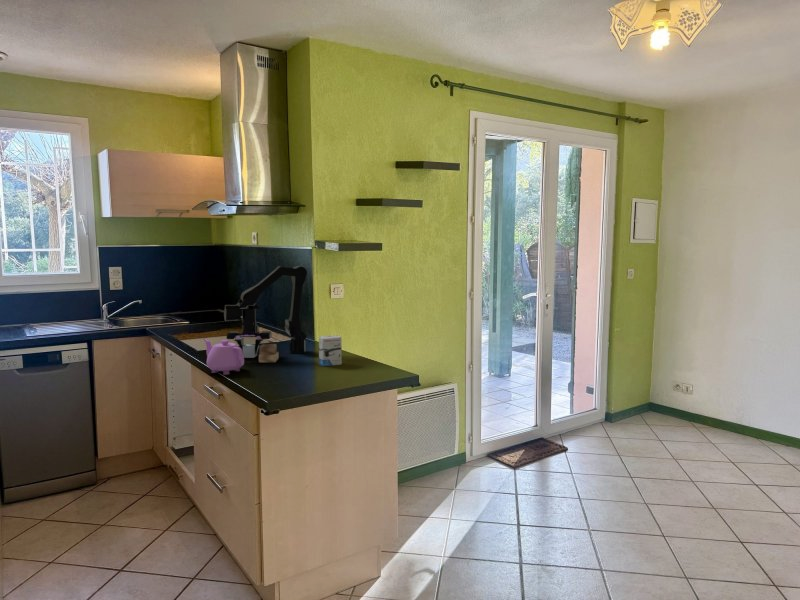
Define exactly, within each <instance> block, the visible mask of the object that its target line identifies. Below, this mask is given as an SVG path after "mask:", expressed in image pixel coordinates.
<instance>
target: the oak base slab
mask: <svg viewBox="0 0 800 600" xmlns="http://www.w3.org/2000/svg"><path fill="white" fill-rule="evenodd" d="M278 360H279V351H277V352H276V353H275V354H274V355H260V353H259V354H258V363H276V362H277V361H278Z"/></svg>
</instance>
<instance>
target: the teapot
mask: <svg viewBox="0 0 800 600" xmlns="http://www.w3.org/2000/svg"><path fill="white" fill-rule="evenodd" d="M229 340H230V339H222V340H221V341H220V342H221V343H215V344H214V345H213V346H212V343H211V341H210V340H208V339H206V338H203V342H205V344H206V356H207V357H206V367H208V368H209V370H211V372H210V373H212V374H216V373H217V374H218V373H219V372H222V375H224V376H226V375H227V376H228V375H230V373H231V372H230V371H233V372H241V368H242V367H243V366H244V365H245V358H244V357H243V352H242V349H241V348H240V346H239V345H237V343H234V342H229Z"/></svg>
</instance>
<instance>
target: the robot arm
mask: <svg viewBox="0 0 800 600" xmlns="http://www.w3.org/2000/svg"><path fill="white" fill-rule="evenodd" d="M307 270H308V269H306V268H305V267H304V266H300V265H295V266H293V267H286V266H281V265H279V266H276V267H275V269H274V270H272V271H271V272H270V273H269V274H268V275H266V276H265V277H264V278H263V279H262V280H260V281H259V282H258V283H257V284H255V285H253V286H251V287H249V288H248V289H245V290H244V291H243V292H242V293H241V295H240V299H239V300H238V302H237V303H236V304H225V305H224V310H223V311H224V312H223V317H224V321H225V322H226V321H227V322H228V321H229V322H230V321H239V320H240V319H241V329H242V332H239V331H238V330H230V331H229V332H227V333H226V340H233V342H236V344H238V345H237V346H238V347H240V348H241V349H242V352H243V346H244V345H245V342H244V341H245V338H256V339H255V342H254V344H255V354H257V355H258V350H259V349H260V346H261V344H262V343H261V342H263V341H264V340H270V339H272V337H273V333H272V331H271V330H262V331H260V332H259V325H258V324H257V320H256V319H257V318H256V317H257V313H256V310H260V309H261V307H260V306H258V304H257V303H256V302H257V301H258V299H260V297H261V295H262V294H263V293H264V291H266V290H267V289H269V288H270V287H271V286H272V285H273V284H274V283H275V282H277V281H278V280H279V279H280V278H281V277H282V276H289V277H291V282H292V291H291V293H292V294H291V301H290V302H291V303H290V314H289V317H288V319H285V320H284V323H285V324H284V329H285V333H286V334H288V335H289V338H290V341H289V352H290V354H305V353H306V351H307V349H306V339H307V334H306V333H305V332H304V331H302V329H303V328H302V321H301V308H302V307H301V305H302V297H303V296H302V295H303V287H304V285H305V283H306V279H307V276H308V271H307Z"/></svg>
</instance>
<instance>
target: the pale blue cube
mask: <svg viewBox="0 0 800 600" xmlns="http://www.w3.org/2000/svg"><path fill="white" fill-rule="evenodd" d="M257 356H258V353H257V354H255V343H253V344H248V343H247V344H245V343H244V346H243V357H244V359H245V358H246V359H248V358H249V359H250V358H251V359H255V358H256V357H257Z"/></svg>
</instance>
